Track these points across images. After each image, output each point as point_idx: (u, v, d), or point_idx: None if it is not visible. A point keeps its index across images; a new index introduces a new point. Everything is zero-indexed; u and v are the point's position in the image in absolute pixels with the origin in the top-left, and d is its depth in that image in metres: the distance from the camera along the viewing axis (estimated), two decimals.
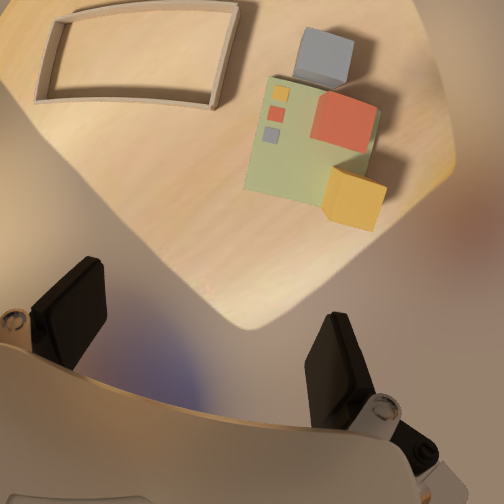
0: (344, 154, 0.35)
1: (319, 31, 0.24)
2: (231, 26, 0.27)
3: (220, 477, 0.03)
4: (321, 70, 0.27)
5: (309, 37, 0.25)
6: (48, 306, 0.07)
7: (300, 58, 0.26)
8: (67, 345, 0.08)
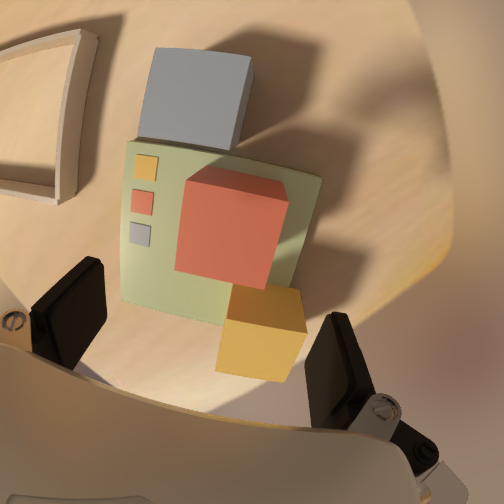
0: None
1: (179, 51, 0.13)
2: (70, 70, 0.16)
3: (220, 477, 0.03)
4: (180, 132, 0.15)
5: (160, 67, 0.14)
6: (48, 306, 0.07)
7: (143, 116, 0.15)
8: (67, 345, 0.08)
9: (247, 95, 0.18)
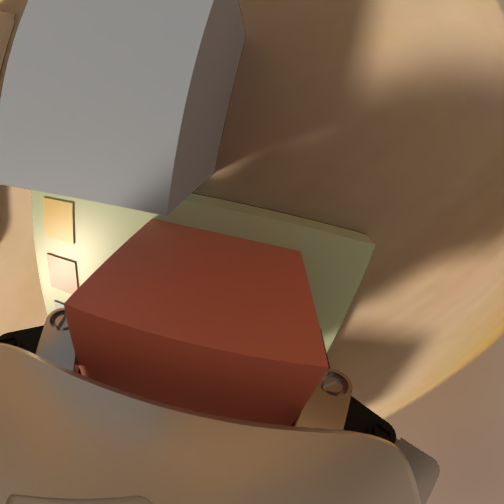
0: None
1: None
2: None
3: (220, 477, 0.03)
4: (55, 171, 0.05)
5: (28, 29, 0.04)
6: None
7: None
8: None
9: (228, 71, 0.08)
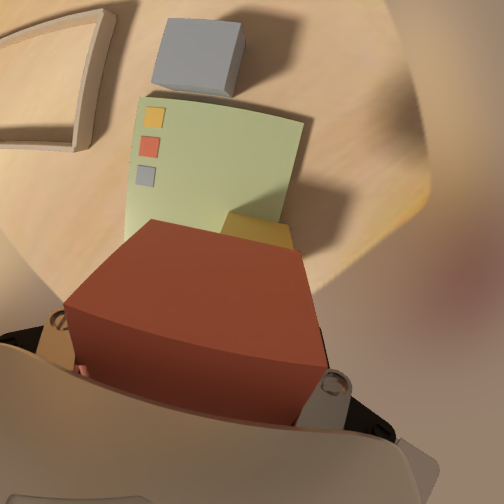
0: (245, 193, 0.27)
1: (186, 20, 0.16)
2: (93, 40, 0.18)
3: (220, 477, 0.03)
4: (186, 78, 0.18)
5: (171, 32, 0.16)
6: None
7: (156, 67, 0.18)
8: None
9: (239, 57, 0.20)
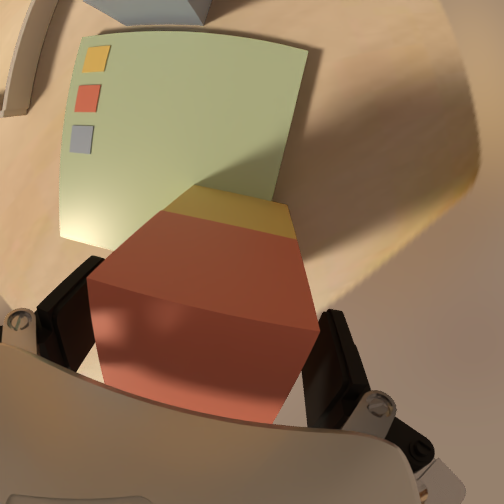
0: (218, 155, 0.16)
1: None
2: None
3: (220, 477, 0.03)
4: None
5: None
6: (54, 305, 0.07)
7: None
8: (72, 344, 0.08)
9: None
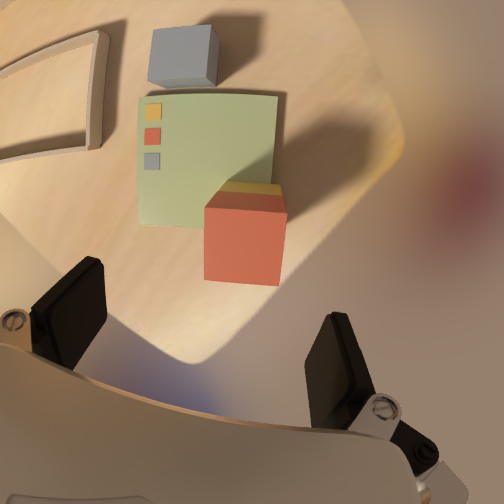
0: (238, 163, 0.30)
1: (168, 29, 0.20)
2: (94, 57, 0.23)
3: (220, 477, 0.03)
4: (174, 73, 0.22)
5: (157, 40, 0.21)
6: (48, 306, 0.07)
7: (150, 68, 0.22)
8: (67, 345, 0.08)
9: (216, 52, 0.25)
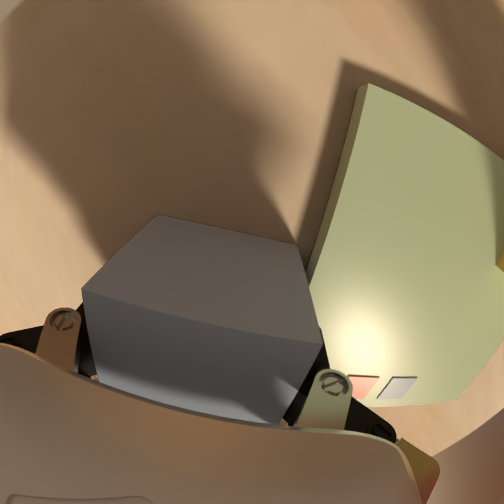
0: (483, 234, 0.10)
1: None
2: None
3: (220, 477, 0.03)
4: (266, 412, 0.08)
5: None
6: None
7: None
8: None
9: (194, 242, 0.10)
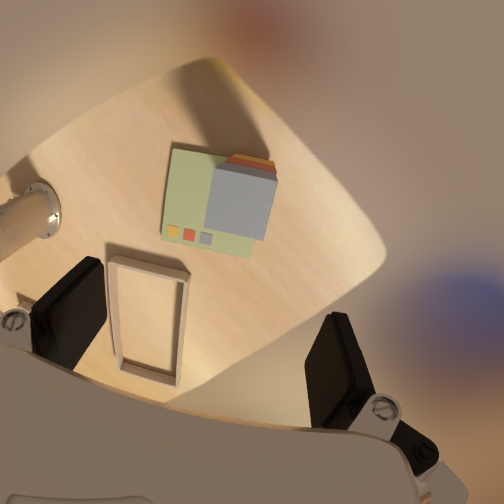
0: None
1: (207, 212, 0.27)
2: (125, 266, 0.48)
3: (220, 477, 0.03)
4: (264, 211, 0.27)
5: (218, 224, 0.27)
6: (48, 306, 0.07)
7: (250, 236, 0.28)
8: (67, 345, 0.08)
9: (239, 167, 0.29)
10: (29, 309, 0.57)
